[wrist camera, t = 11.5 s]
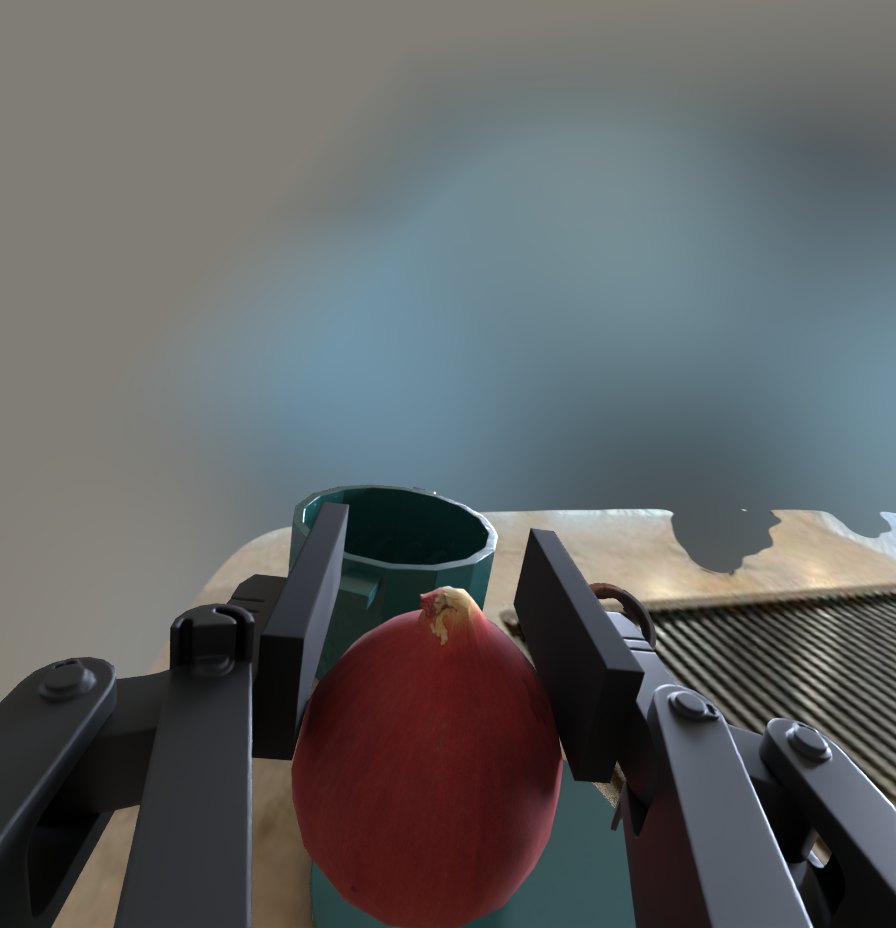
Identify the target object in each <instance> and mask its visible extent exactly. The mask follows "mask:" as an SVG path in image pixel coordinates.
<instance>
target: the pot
mask: <svg viewBox="0 0 896 928" xmlns="http://www.w3.org/2000/svg"><path fill="white" fill-rule="evenodd" d="M435 493H436V492H434V491H429V490H425V489H420V488H415V487H414V488H413V489H409V488H404V487H393V486H381V485H360V486H344V487H343V486H342V487H336V488H332V489H329V490H325V491H321V492H317V493H313V494H312V495H310V496H309V497H307V498H306V499H305V500H303V501H302V502H301V503H299V504H298V505H296V507H295V512H294V518H293V526H292V537H291V548H290V560H289V572H288V576H289V573H290V571H291V569H292V567H293V565H294V563H295V561H296V559H297V557H298V555H299V552H300V550H301V548H302V546H303V544H304V542H305V540H306V538H307V536H308V534H309V531H310V529H311V527H312V525H313V523H314V521H315V519H316V517H317V515H318V513H319V511H320V508H321V506H322V504H323V502H329V503H337V504H345V505H349V510H348V518H347V527H346V535H345V544H344V552H343V560H342V569H341V577H340V585H339V589H338V593H337V596H336V600H335V604H334V607H333V611H332V615H331V618H330V622H329V626H328V630H327V633H326V637H325V641H324V644H323V648H322V652H321V655H320V659H319V663H318V666H317V670H316V674H315V678H317V679H319V680H321V679H322V678H323V677H324V676H325V674H326V673H327V672H328V671H329V670H330V669H331V668H332V667H333V666H334V664H335V663H336V662H337V661H338V660H339V659H340V658H341V656H342V655H343V654H344V653H345V652H346V651H347V650H348V649H349V647H350V646H351V645H352V644H353V643H354V642H356V641H357V640H358V639H359V638H360V637H361V636H363V635H364V634H366V633H367V632H369V631H371V630H373V629H374V628H376V627H378V626H380V625H381V624H383V623H385V622H387V621H388V620H390V619H392V618H394V617H396V616H399V615H402V614H404V613H408V612H412V611H416V610H420V609H423V608H422V607H421V606H420V604H421V596H420V594H427V593H429V592H431V591H434V590H436V589H438V588H441V587H446V586H450V587H452V588H458V589H464V590H465V591H466V592H467V593H468V594H469V595H470V596H471V597H472V599H473V600H474V601H475V603H476V604H477V605H478V607H479V608H480V610H481V611H482V610H483V606H484V601H485V596H486V591H487V586H488V581H489V577H490V572H491V567H492V562H493V557H494V552H495V547H496V542H497V537H498V535H497V533H496V531H495V530H494V529H493V527H492V526H491V524H490V523H489V522H488V520H487V519H486V518H485V517H483V516H481V515H480V514H478V513H477V512H475V511H473V510H472V509H470V508H469V507H467V506H465V505H464V504H461V503H458V502H456V501H453V500H450V499H448V498H445V497H442V496H439V495H437V494H435Z"/></svg>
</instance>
